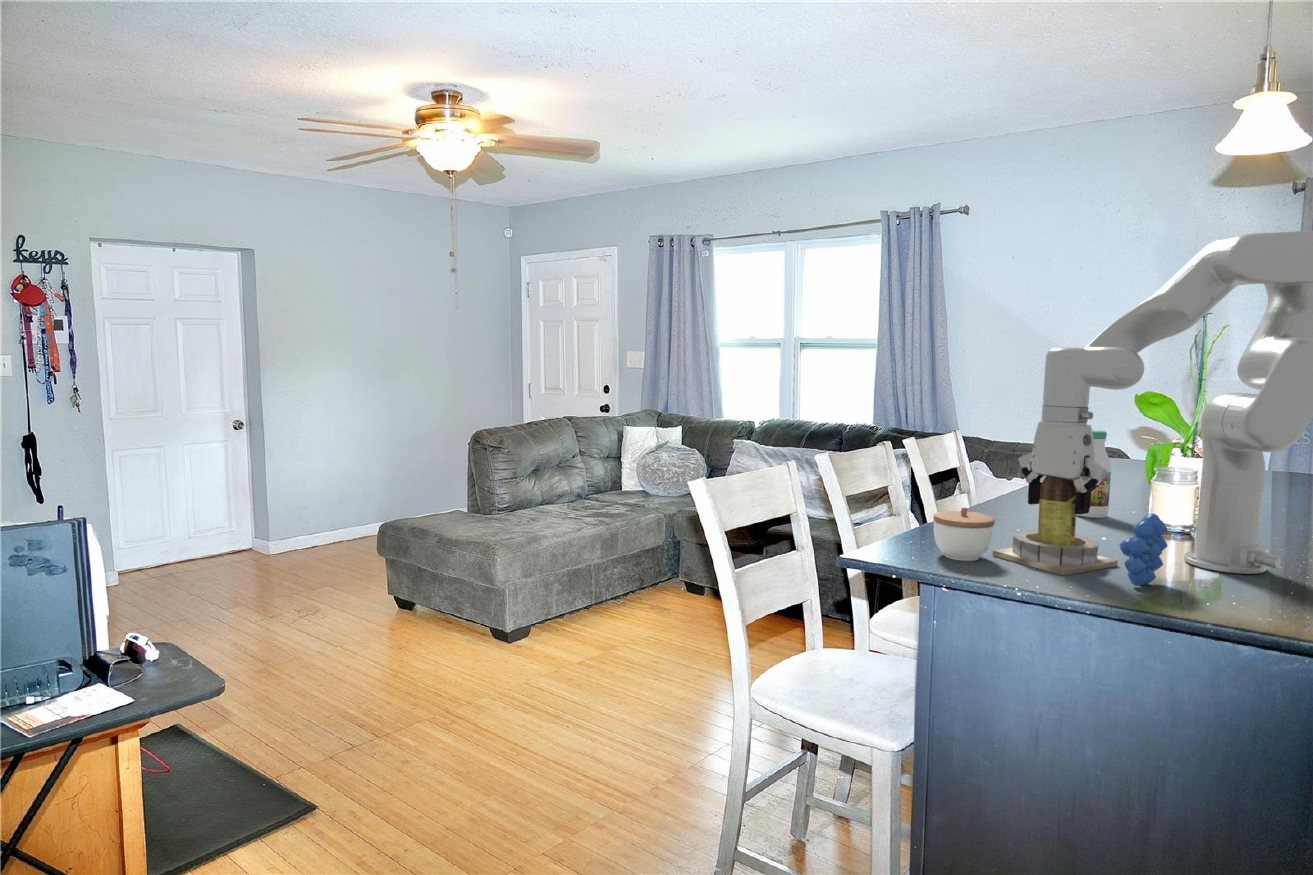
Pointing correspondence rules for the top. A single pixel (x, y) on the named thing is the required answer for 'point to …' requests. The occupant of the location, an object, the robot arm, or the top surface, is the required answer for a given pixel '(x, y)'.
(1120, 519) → the top surface
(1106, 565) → the collar board
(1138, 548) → the grapes
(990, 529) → the lidded jar
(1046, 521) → the sauce bottle
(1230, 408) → the robot arm
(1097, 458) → the milk bottle
